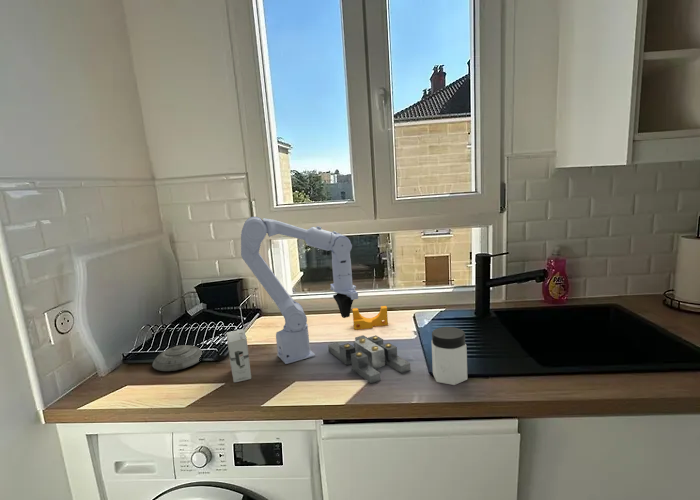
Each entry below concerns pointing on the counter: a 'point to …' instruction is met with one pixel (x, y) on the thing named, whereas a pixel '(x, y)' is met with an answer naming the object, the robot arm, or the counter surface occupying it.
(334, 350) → the chain end
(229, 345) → the ink box
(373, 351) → the block with brass knobs
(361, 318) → the pipe clamp
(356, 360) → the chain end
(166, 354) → the flying saucer
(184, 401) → the counter surface
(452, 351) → the jar
